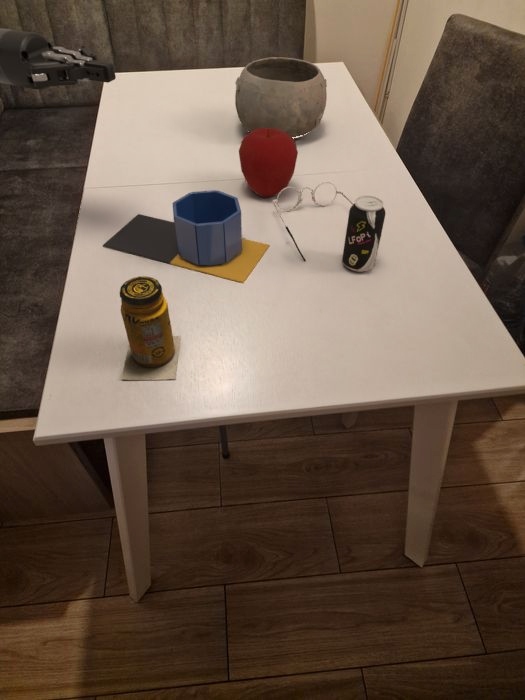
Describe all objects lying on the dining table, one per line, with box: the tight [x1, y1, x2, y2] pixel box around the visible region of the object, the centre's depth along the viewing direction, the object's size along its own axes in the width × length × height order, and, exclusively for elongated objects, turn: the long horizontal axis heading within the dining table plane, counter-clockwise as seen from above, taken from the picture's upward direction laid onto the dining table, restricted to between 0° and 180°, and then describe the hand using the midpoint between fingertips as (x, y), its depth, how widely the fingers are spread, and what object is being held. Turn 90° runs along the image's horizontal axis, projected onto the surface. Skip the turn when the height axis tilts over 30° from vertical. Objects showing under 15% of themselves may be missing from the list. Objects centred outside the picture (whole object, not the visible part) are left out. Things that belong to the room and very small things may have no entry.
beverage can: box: [341, 195, 386, 273], centre depth 81 cm, size 6×6×12 cm
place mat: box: [102, 213, 271, 284], centre depth 88 cm, size 28×12×1 cm, turn 68°
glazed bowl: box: [172, 189, 243, 266], centre depth 84 cm, size 11×11×8 cm
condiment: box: [119, 275, 181, 381], centre depth 64 cm, size 7×8×12 cm
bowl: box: [234, 56, 328, 141], centre depth 120 cm, size 23×23×15 cm
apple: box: [238, 128, 299, 198], centre depth 98 cm, size 12×12×13 cm
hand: (111, 73), depth 70 cm, fingers closed
